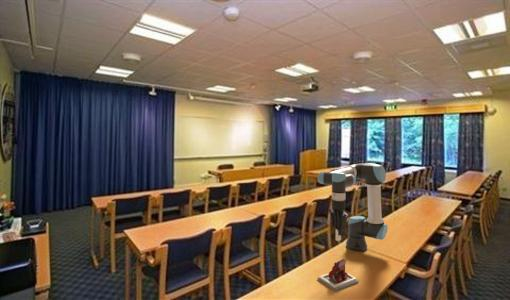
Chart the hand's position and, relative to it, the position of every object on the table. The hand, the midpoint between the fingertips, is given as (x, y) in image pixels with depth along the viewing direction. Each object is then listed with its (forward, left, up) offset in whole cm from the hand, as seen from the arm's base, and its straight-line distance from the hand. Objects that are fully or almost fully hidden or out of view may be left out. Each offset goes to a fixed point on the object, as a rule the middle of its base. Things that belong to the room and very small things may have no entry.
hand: (338, 240), depth 155 cm
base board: (0, 0, -24) cm, 24 cm away
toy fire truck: (0, 0, -23) cm, 23 cm away
